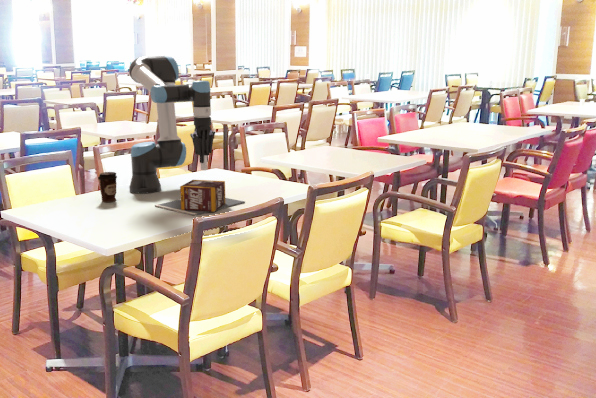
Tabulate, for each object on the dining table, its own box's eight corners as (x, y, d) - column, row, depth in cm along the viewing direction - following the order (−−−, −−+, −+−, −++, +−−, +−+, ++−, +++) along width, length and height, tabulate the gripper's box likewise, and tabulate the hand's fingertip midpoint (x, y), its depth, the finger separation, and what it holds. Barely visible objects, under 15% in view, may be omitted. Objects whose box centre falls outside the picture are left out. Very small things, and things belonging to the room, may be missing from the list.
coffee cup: (123, 200, 297) (121, 172, 294) (110, 203, 290) (108, 175, 287) (108, 198, 301) (106, 170, 298) (95, 202, 293) (93, 173, 290)
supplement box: (226, 203, 287) (214, 212, 272) (193, 201, 290) (180, 210, 275) (225, 180, 285) (214, 188, 270) (192, 179, 288) (179, 186, 273)
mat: (154, 206, 284) (154, 205, 284) (205, 195, 307) (205, 193, 307) (194, 215, 268) (194, 214, 268) (244, 202, 291) (244, 201, 291)
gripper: (196, 118, 274) (198, 172, 279) (219, 115, 284) (220, 168, 289) (185, 117, 279) (187, 170, 284) (207, 114, 288) (209, 166, 294)
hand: (204, 169), depth 287 cm, fingers closed
